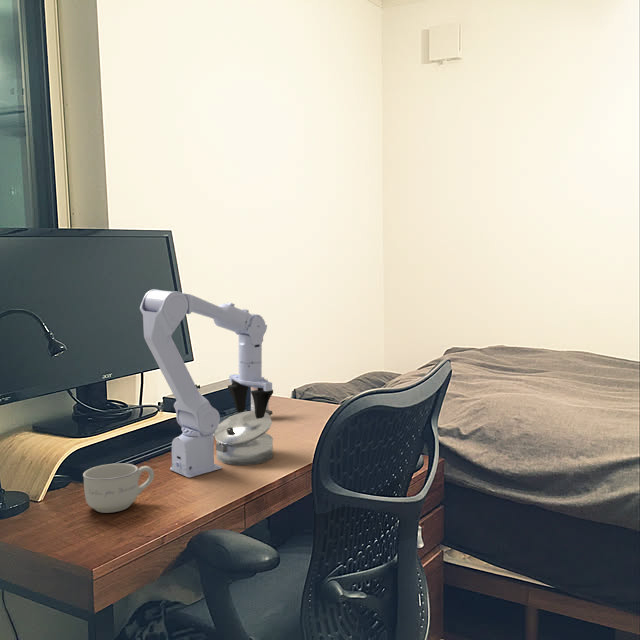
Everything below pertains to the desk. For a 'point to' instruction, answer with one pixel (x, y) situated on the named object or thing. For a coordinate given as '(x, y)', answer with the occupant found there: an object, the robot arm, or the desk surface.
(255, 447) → the pot
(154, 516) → the desk surface
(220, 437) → the lid
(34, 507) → the desk surface
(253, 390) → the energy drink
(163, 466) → the desk surface
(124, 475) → the teacup
